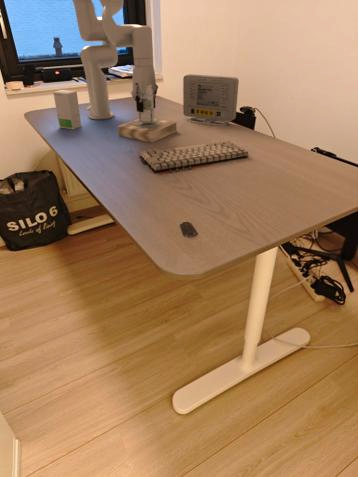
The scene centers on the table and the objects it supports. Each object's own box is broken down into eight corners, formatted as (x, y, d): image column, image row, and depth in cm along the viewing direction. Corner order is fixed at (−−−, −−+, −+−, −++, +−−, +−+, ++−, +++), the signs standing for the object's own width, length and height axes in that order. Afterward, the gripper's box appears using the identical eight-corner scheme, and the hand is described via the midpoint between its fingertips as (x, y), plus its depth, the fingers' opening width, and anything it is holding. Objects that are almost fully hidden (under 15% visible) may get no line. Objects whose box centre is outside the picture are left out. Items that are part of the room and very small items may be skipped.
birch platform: (118, 135, 145) (117, 125, 143) (144, 125, 158) (144, 116, 155) (151, 142, 137) (151, 132, 134) (176, 131, 149) (176, 121, 147)
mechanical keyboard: (225, 144, 136) (226, 136, 134) (252, 160, 122) (253, 151, 120) (136, 159, 124) (136, 150, 122) (154, 178, 109) (154, 169, 107)
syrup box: (154, 119, 146) (153, 83, 138) (152, 122, 142) (150, 85, 133) (141, 118, 147) (139, 82, 139) (139, 122, 142) (136, 85, 134)
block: (190, 227, 85) (191, 221, 84) (198, 239, 80) (199, 232, 79) (177, 228, 84) (178, 221, 83) (184, 239, 79) (185, 232, 78)
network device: (236, 122, 160) (240, 76, 149) (230, 127, 154) (233, 79, 142) (188, 116, 170) (189, 73, 159) (180, 121, 164) (180, 75, 152)
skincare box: (59, 127, 156) (51, 91, 147) (68, 124, 161) (61, 89, 152) (74, 129, 153) (67, 93, 144) (82, 125, 158) (76, 90, 149)
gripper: (149, 59, 139) (151, 104, 149) (121, 64, 128) (125, 112, 137) (164, 61, 136) (165, 106, 146) (136, 66, 124) (140, 115, 134)
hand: (146, 109), depth 142 cm, fingers closed on syrup box, 7 cm apart
